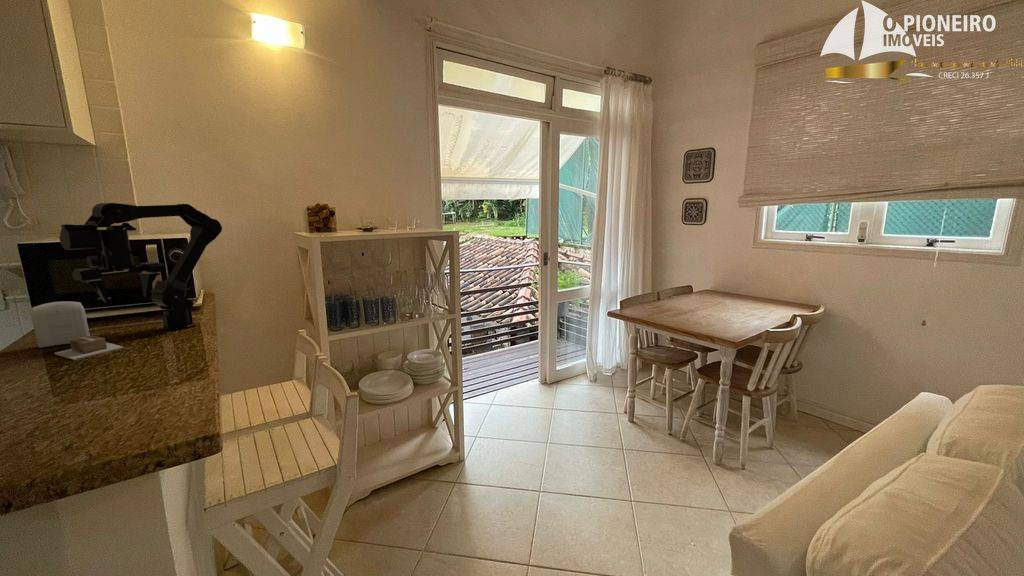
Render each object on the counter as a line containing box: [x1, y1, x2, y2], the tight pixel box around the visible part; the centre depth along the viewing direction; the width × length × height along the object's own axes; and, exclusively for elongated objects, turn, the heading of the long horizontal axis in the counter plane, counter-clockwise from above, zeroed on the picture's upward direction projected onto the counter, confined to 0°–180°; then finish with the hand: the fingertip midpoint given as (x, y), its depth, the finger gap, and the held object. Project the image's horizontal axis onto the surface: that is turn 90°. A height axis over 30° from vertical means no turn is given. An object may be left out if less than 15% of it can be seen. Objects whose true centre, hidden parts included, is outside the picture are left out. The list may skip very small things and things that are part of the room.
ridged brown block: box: [69, 335, 107, 354], centre depth 108 cm, size 7×4×3 cm, turn 67°
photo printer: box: [30, 300, 91, 349], centre depth 114 cm, size 10×4×12 cm, turn 134°
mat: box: [53, 341, 124, 361], centre depth 108 cm, size 10×11×1 cm
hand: (126, 299), depth 117 cm, fingers open, 9 cm apart
